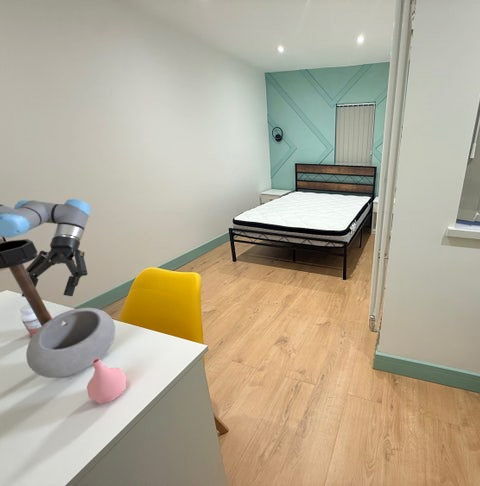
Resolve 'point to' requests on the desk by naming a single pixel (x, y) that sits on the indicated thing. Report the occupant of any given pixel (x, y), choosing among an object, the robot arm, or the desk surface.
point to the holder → (16, 252)
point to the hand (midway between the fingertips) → (47, 296)
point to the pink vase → (105, 383)
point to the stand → (30, 293)
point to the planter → (70, 342)
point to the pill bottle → (30, 319)
